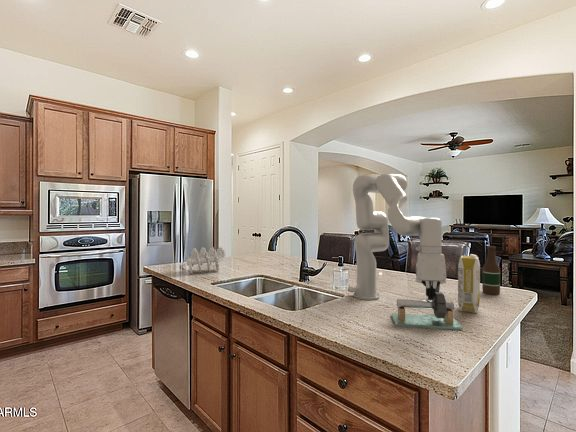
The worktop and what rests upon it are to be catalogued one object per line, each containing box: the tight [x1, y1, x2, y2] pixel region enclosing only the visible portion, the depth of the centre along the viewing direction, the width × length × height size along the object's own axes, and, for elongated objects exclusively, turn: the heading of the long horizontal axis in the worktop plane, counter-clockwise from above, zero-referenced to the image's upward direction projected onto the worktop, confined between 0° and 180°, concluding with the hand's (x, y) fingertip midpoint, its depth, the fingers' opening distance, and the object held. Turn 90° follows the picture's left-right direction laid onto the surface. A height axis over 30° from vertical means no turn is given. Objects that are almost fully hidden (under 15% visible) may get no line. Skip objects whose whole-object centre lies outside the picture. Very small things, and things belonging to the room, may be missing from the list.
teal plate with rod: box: [390, 298, 464, 331], centre depth 123 cm, size 23×12×9 cm, turn 79°
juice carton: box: [457, 253, 481, 314], centre depth 137 cm, size 9×8×24 cm
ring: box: [432, 291, 447, 318], centre depth 122 cm, size 2×9×9 cm, turn 169°
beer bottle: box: [482, 245, 501, 296], centre depth 164 cm, size 8×8×24 cm
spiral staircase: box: [185, 246, 226, 274], centre depth 223 cm, size 18×18×25 cm
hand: (430, 297), depth 122 cm, fingers closed
